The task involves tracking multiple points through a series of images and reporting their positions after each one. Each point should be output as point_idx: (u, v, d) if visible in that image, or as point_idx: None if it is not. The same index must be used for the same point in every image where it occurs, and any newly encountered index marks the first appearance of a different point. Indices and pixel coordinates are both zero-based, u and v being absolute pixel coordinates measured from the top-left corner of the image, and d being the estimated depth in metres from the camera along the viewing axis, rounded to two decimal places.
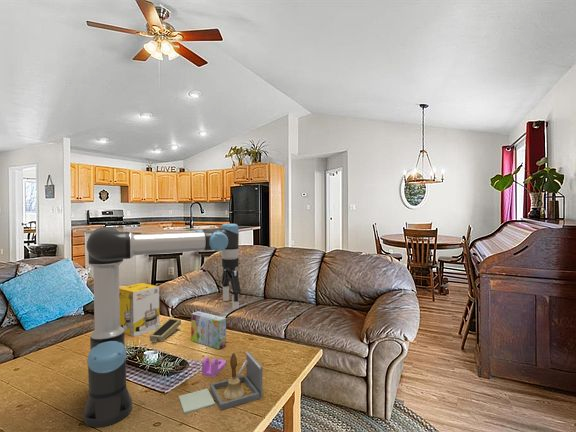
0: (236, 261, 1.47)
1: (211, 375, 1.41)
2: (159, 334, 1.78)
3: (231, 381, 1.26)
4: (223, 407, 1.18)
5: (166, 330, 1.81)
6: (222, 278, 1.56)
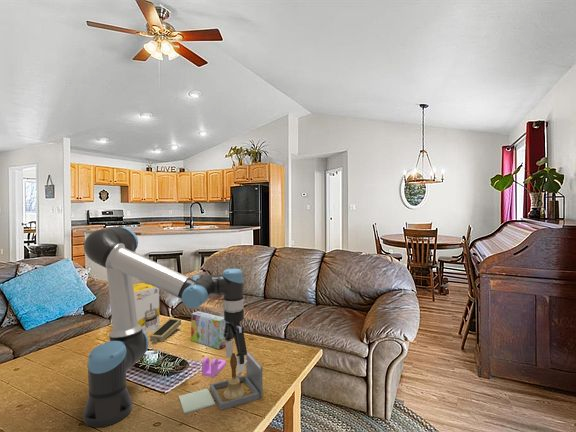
0: (241, 314, 1.25)
1: (211, 375, 1.41)
2: (159, 334, 1.78)
3: (231, 381, 1.26)
4: (223, 407, 1.18)
5: (166, 330, 1.81)
6: (224, 331, 1.34)
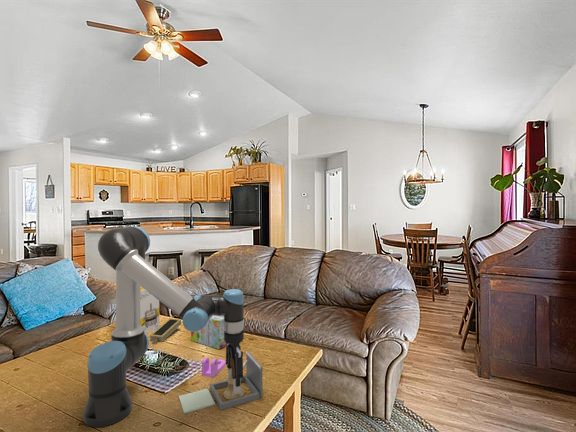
0: (241, 335, 1.25)
1: (211, 375, 1.40)
2: (159, 334, 1.78)
3: (231, 381, 1.27)
4: (223, 407, 1.18)
5: (166, 330, 1.81)
6: (226, 356, 1.32)
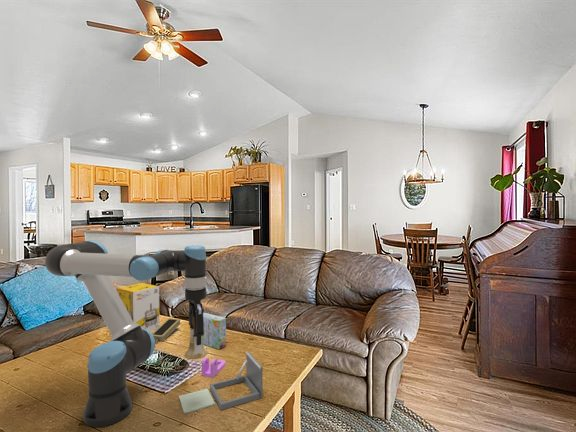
0: (202, 292, 1.20)
1: (210, 375, 1.40)
2: (160, 334, 1.78)
3: (192, 340, 1.21)
4: (223, 407, 1.18)
5: (166, 330, 1.82)
6: (189, 316, 1.27)
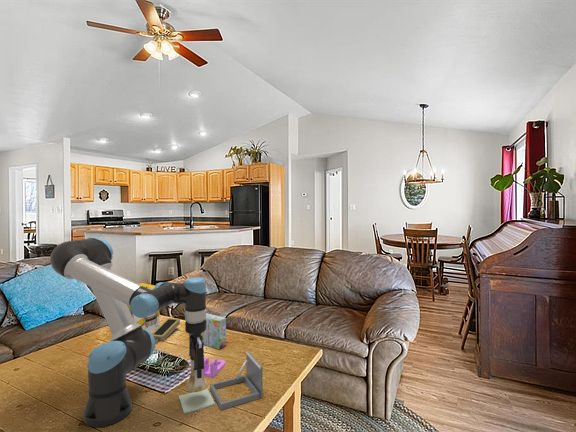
0: (202, 325, 1.20)
1: (210, 375, 1.40)
2: (160, 334, 1.78)
3: (193, 373, 1.21)
4: (223, 407, 1.18)
5: (166, 329, 1.82)
6: (189, 347, 1.27)
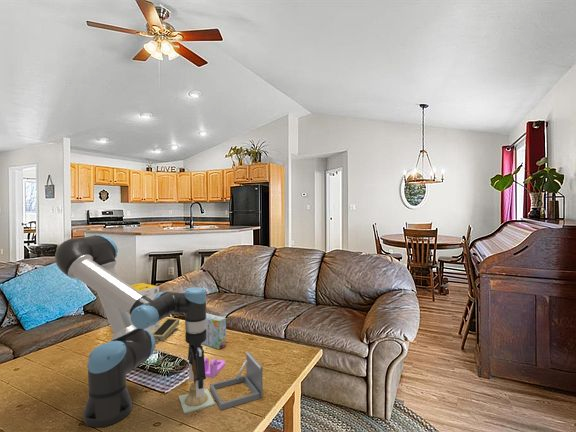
0: (202, 335, 1.20)
1: (210, 376, 1.40)
2: (160, 333, 1.78)
3: (193, 386, 1.22)
4: (223, 407, 1.18)
5: (166, 329, 1.82)
6: (188, 353, 1.29)
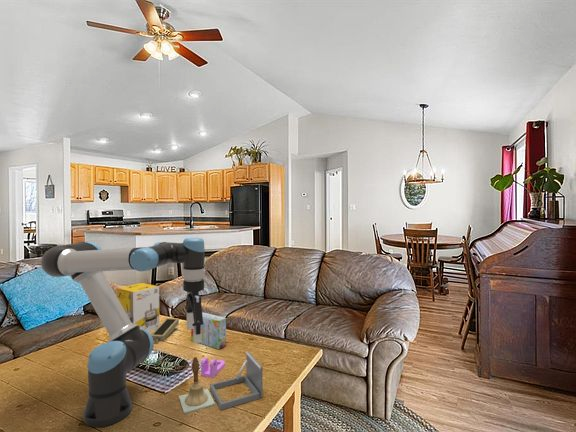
0: (200, 284, 1.21)
1: (210, 376, 1.40)
2: (160, 333, 1.78)
3: (193, 386, 1.22)
4: (223, 407, 1.18)
5: (166, 329, 1.82)
6: (186, 302, 1.30)
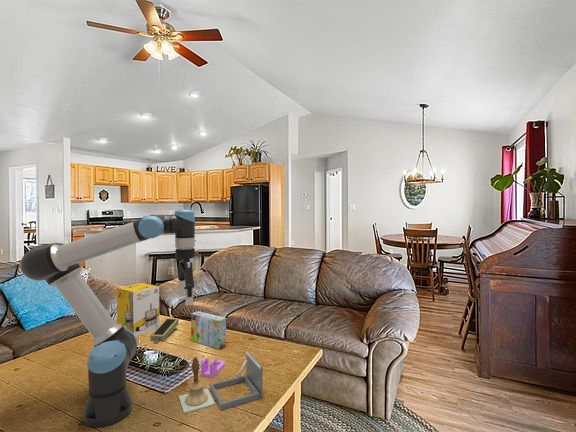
0: (191, 251, 1.30)
1: (210, 376, 1.40)
2: (160, 333, 1.78)
3: (193, 386, 1.22)
4: (223, 407, 1.18)
5: (166, 329, 1.82)
6: (178, 271, 1.40)
